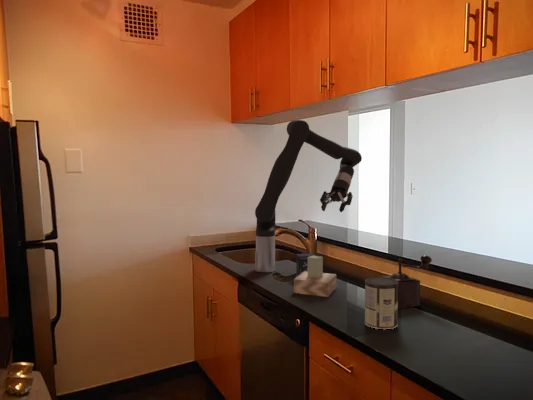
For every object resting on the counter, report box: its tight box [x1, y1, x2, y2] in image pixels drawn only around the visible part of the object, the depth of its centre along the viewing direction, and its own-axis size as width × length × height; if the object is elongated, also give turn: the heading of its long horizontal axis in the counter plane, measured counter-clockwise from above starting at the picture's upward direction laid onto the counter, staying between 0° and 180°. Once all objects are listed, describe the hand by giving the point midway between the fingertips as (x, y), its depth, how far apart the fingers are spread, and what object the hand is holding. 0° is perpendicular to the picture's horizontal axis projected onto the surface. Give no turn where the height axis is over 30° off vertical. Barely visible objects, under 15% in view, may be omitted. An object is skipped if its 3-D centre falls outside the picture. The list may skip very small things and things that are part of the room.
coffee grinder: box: [381, 254, 433, 310], centre depth 153 cm, size 16×11×18 cm
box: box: [295, 253, 316, 277], centre depth 189 cm, size 8×6×11 cm
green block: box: [307, 255, 324, 278], centre depth 170 cm, size 4×4×8 cm
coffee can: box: [364, 276, 399, 331], centre depth 132 cm, size 10×10×14 cm
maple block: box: [293, 271, 337, 298], centre depth 170 cm, size 14×14×6 cm
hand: (331, 210), depth 188 cm, fingers open, 8 cm apart
